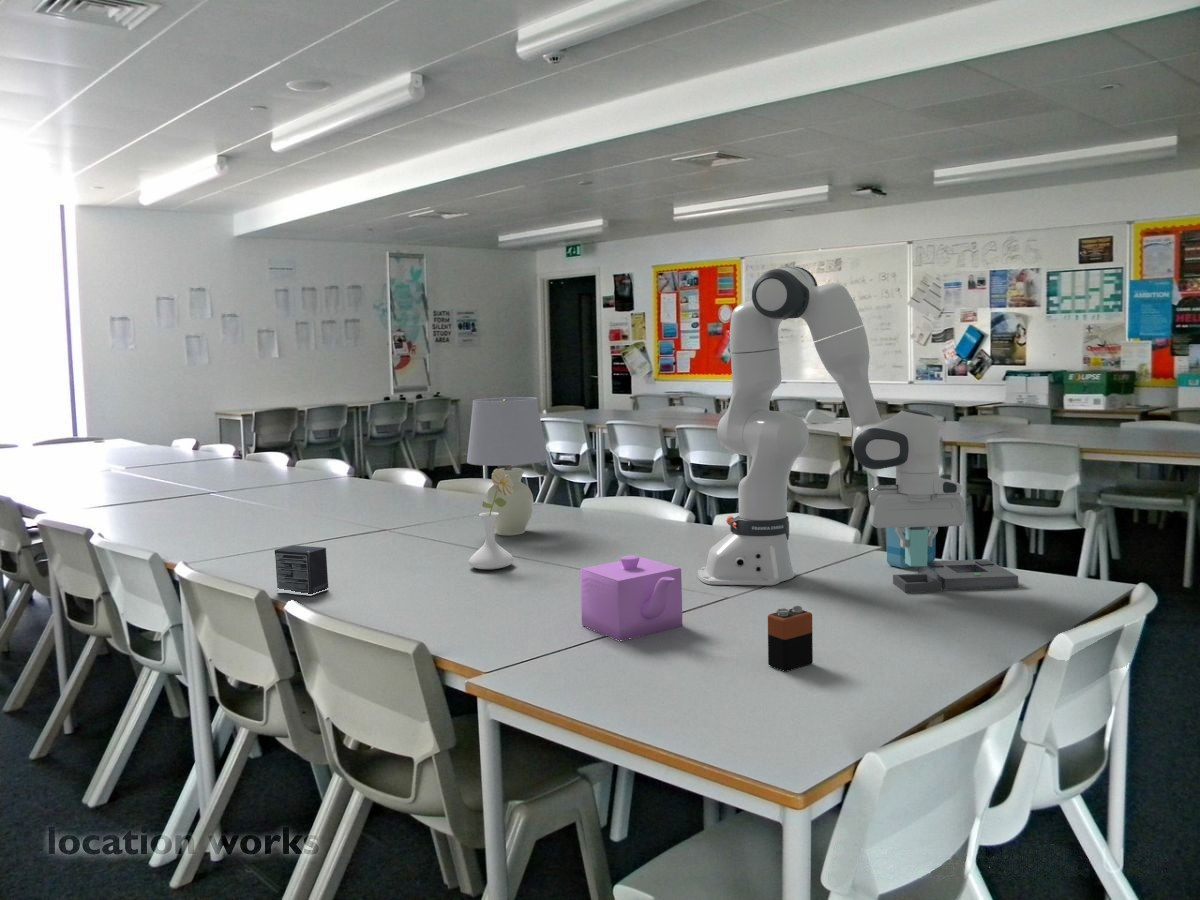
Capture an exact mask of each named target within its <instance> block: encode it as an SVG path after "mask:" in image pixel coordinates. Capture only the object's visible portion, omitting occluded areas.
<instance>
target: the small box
mask: <svg viewBox="0 0 1200 900" xmlns="http://www.w3.org/2000/svg"><path fill="white" fill-rule="evenodd" d="M274 558H275V572H276V573H275V574H276V583H277V585H276V587H277V588H279V589H284V590H291V591H295V592H301V593H308V594H313V593H316V592H319V591H322V590H325V589H327V588H329V577H328V561H327V559H328V558H327V547H321V546H308V545H307V546H305V545H293V544H292V545H289V546H286V547H282V548H277V549H274Z"/></svg>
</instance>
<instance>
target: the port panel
mask: <svg viewBox="0 0 1200 900" xmlns="http://www.w3.org/2000/svg"><path fill="white" fill-rule="evenodd" d="M924 573H929V574H930V575H932V576H933V577H935V578H936V579H938V580H939V581H941V582H942V590H944V591H953V590H954V591H955V590H958V589H959V590H977V589H978V590H981V588H982V589H984V590H985V588H986V589H1006V588H1005V587H1013V588H1018V587H1019V575H1017V574H1015V573H1013V572H1011V571H1010V570H1008V569H1006V568H1004V567H1002V566H1000V565H999V564H997V563H995V562H993V561H991V560H989V559H985V558H984V559H955V560H953V559H952V560H934V561H927V566H918V574H924ZM959 590H958V591H959Z"/></svg>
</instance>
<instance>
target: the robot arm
mask: <svg viewBox="0 0 1200 900" xmlns="http://www.w3.org/2000/svg"><path fill="white" fill-rule="evenodd" d="M818 285H819V284H818V282H817V280H816V277H815V276H814V275H813V274H812V273H811V272H810V271H809V270H807V269H805V268H803V267H800V266H781V267H778V268H775V269H774V268H773V269H770V270H767V271H765V272H764V273H762V274H761V275H760V276H759V277H758V278H757V279H756V281H755V282H754V284H753V286H752V289H751V300H749V301H746V302H744V301H743V302H742V303H740V304H739V305H737V306H736V307H734V309H733V310H732V312H731V314H730V315H731V316H730V324H729V351H730V363H731V364H730V365H731V377H732V378H731V381H732V383H731V384H732V385H731V394H730V400H729V403H728V407H727V409H726V411H725V413H724V415H723V416H722V417H721V418H720V420H719V421H718V425H717V429H716V434H717V438H718V439H717V440H718V442H719V444H720V445H721V446H722V447H723V448H725V449H726V450H728V451H730V452H732V453H735V454H737V455H742V456H747V457H751V463H750V467H749V469H748V472H747V474H746V476H744V477H743V478H742V479H741V480H740V481H739V482H738V483H739V484H738V488H737V489H738V515H737V516H736V517H733V516H732V515H728V516H727V517H726V519H725V521H726V524H727V525H728V526H729V529H730V532H729V533H728V534H727V535H726V536H724V537H723V538H721V539H720V540H719V541H717V542H716V544H714V545H712V546H711V547H710V549H709V551H708V553H707V554H708V555H707V559H706V564H705V565H706V566H702V567H700V568H699V569H698V570H697V578H698V580H700V581H701V582H702V583H705V584H708V585H714V586H716V585H723V586H724V585H727V586H728V585H729V586H730V585H732V586H734V585H735V586H736V585H737V586H738V585H739V586H775V585H777V584H779V583H781V582H784V581H785V582H786V581H788V580H791V579H793V578H794V577H795V572H794V569H793V566H792V561H791V555H790V549H789V547H790V546H789V540H790V539H789V538H790V520H789V516H787V515H788V514H787V511H788V509H787V506H788V504H787V503H788V501H787V498H788V483H789V477H790V474H791V471H792V469H793V467H794V463H795V462H796V460H797V459H798V458H799V457H800V456H801V455H802V454H803V453H804V452H805V451H806V448H807V447H808V444H809V439H810V438H809V437H810V434H809V433H810V432H809V427H808V425H807V424H806V422H805V421H804V420H803V419H802V418H801V417H799V416H796V415H794V414H791V413H789V412H786V411H780V410H779V411H776V410H770V403H771V398H772V395H773V393H774V391H776V389H778V387H779V386H780V385H781V382H782V367H781V366H782V365H781V356H780V343H779V328H780V326H781V325H780V324H782V323H781V322H782V321H785V320H788V319H799V318H800V319H802V320H803V321H804V322H805V323H806V325H807V326H808V329H809V332H810V334H811V338H812V341H813V345H814V348H815V350H816V353H817V354H818V357H819V359H820V360H821V363H822V364H823V366H824V368H825V369H826V371H827V372H828V374H829V375H830V377H832V378H833V379H834V382H836V384H837V386H838V388H839V389H840V391H841V393H842V396H843V399H844V402H845V406H846V408H847V411H848V414H849V418H850V421H851V428H852V429H851V436H850V448H851V451H852V454H853V455H854V457H855V459H856V461H857V462H858V463H859V464H860V465H861V466H862V467H865V468H867V469H869V470H874V471H877V470H883V469H887V468H894V467H895V468H896V469H895V470H896V471H895V472H896V474H895V484H886V485H882V484H879V485H876V486H875V487H873V488H871V489H870V491H869V504H870V507H869V514H868V522H869V523H870V525H871V526H872V527H874V528H876V529H887V528H895V531H896V533H897V534H898V536H899V538H900V546H901V547H902V548H905V547H909V543H910V540H909V539H907V538H905V537H904V535H903V533H902V532H905V527H928V530H930V532H929V534H928V547H932V539H933V538H934V537H935V535H937V533H938V532H939V527H962V525H963V524H964V523H965V521H966V506H965V499H964V498H963V495H961V494H960V493H961V492H962V490H963V489H962V485H961V484H960V483H959V482H957V481H954V480H951V479H948V478H946V477H943V476H940V470H939V469H940V468H939V464H938V456H939V454H940V429H939V422H938V420H937V418H936V417H935V416H934V415H933V414H931V413H929V412H927V411H926V412H925V411H922V410H917V409H907V408H905V409H902V410H900V411H899V412H898V413H896V414H895V415H893V416H891V417H890V418H887V419H885V420H883V418H882V417H881V415H880V411H878V410H879V409H878V407H877V403H876V400H875V398H874V394H873V392H872V389H871V384H870V380H869V364H870V348H869V342H868V335H867V333H866V329H865V325H864V322H863V320H862V317H861V315H860V312H859V311H858V308H857V305H856V304H855V302H854V300H853V297H852V296H851V294H850V293H849V290H848V289H847V287H846V286H844V285H842V284H840V283H834V282H833V283H825V284H821V285H819V286H818Z"/></svg>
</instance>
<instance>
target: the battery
mask: <svg viewBox="0 0 1200 900" xmlns="http://www.w3.org/2000/svg"><path fill="white" fill-rule="evenodd" d="M813 644H814V643H813V613H812V612H810V611H807V610H803V607H802V606H799V605H795V606H794V605H793V607H792V608H785V607H784V608H783V607H782V608H777V609H776V612H772V613H769V614H768V615H767V658H768V659H767V662H768V663H767V664H768V666H769V665H770V666H769V667H771V666H772V668H774V667H775V668H774V669H777V668H778V669H777V670H779V669H781V670H780V671H782V670H784V671H783V672H785V671H786V672H788V671H787V670H790V671H792V670H791V669H793V670H795V669H794V668H796V669H799V668H798V667H800V668H802V666H803V667H805V665H806V666H809V664H810V665H812V664H813V662H814V661H813V660H814V659H813V658H814V655H813V654H814V651H813V647H814V646H813Z"/></svg>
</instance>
